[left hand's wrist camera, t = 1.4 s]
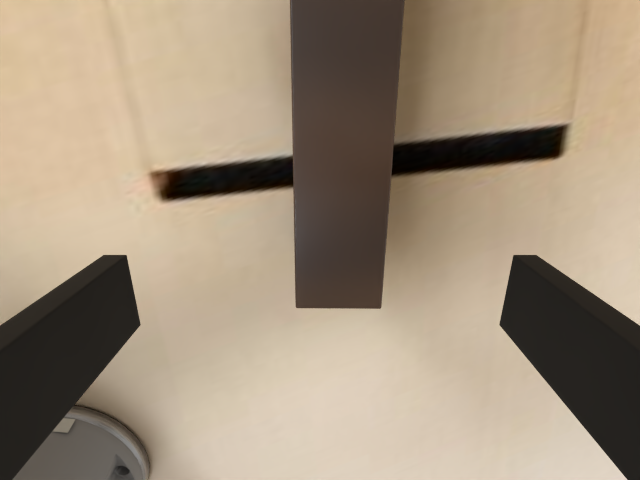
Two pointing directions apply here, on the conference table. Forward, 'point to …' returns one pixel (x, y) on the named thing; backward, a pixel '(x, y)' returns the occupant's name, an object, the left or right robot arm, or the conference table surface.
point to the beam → (343, 146)
